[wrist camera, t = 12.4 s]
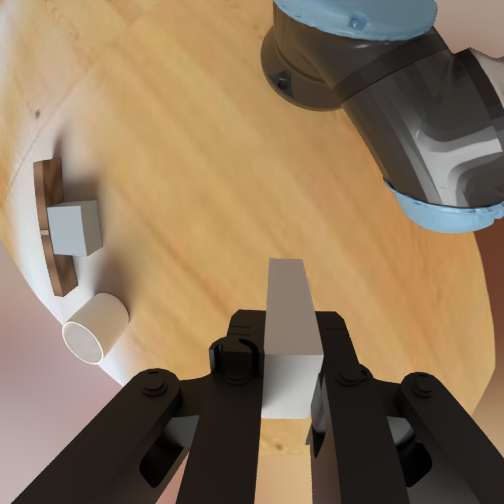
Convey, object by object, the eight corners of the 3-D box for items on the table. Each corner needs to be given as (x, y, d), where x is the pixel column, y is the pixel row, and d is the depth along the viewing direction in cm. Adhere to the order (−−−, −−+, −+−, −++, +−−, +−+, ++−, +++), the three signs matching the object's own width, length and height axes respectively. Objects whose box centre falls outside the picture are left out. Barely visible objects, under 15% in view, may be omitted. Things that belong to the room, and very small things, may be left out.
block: (64, 201, 40) (46, 207, 36) (98, 199, 40) (80, 205, 35) (70, 244, 43) (54, 254, 38) (103, 246, 43) (87, 256, 38)
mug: (81, 316, 48) (52, 345, 38) (104, 282, 45) (70, 311, 35) (111, 344, 50) (86, 377, 40) (138, 315, 46) (111, 350, 36)
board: (51, 160, 38) (32, 162, 33) (60, 158, 38) (41, 160, 33) (69, 284, 46) (54, 295, 41) (78, 285, 46) (62, 297, 41)
